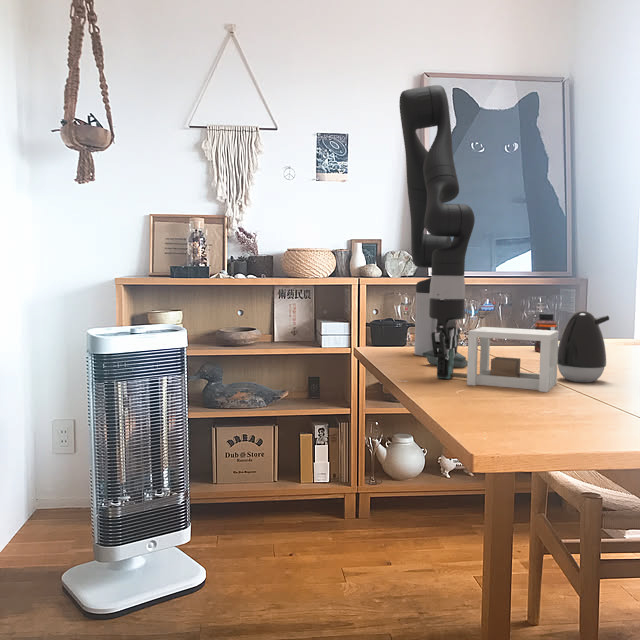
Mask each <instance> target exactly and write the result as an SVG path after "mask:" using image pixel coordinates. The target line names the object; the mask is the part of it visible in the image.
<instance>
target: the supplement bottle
mask: <svg viewBox="0 0 640 640" xmlns="http://www.w3.org/2000/svg"><path fill="white" fill-rule="evenodd" d="M538 318H539V319H538V320H536V321H535V325H534V328H535V329H534V330H553V331H557V328H558V327H557V325H558V324H557V322H556V320H555V319H554V313H552V312H539V315H538ZM540 347H541V341H534V351H535V352H537V351H538V353H540Z"/></svg>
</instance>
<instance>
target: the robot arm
mask: <svg viewBox="0 0 640 640" xmlns="http://www.w3.org/2000/svg"><path fill="white" fill-rule="evenodd" d="M448 99H449V98H448V95H447V92H446V89H445V88H444V86H442V85H439V84H438V85H437V84H435V85H428V86H422V87H421V86H420V87H415V88H409V89H406V90H403V91H402V92H401V93H400V96H399V106H398V107H399V114H400V122H401V129H402V137H403V142H404V143H403V144H404V152H405V162H406V163H405V165H406V166H405V167H406V168H405V169H406V184H407V186H406V187H407V197H408V204H409V205H408V206H409V213H410V215H409V216H410V245H411V246H410V247H411V249H410V251H411V259H412V260H411V261H412V263H413V265H414V267H416V268H423V269H424V268H425V269H426V268H427V269H431V273H430V274H431V276H430V277H429V278H426V279H422V280H420V281H418V282H417V283H416V285H415V321H414V353H413V354H414V355H416V356H422V357H425V356H424V355H423V354H422V353H424V352H427V351H430V350H433V353H434V357H436V359H438V368H437V367H436V376H437V375H438V377H447V376H448V359H449V350H454V356H455V354H456V353H457V352H458V346H459V342H460V341H459V339H460V333H461V329H460V328H458V327H457V322H456V320H462V319H464V318H465V309H466V308H465V307H466V306H465V305H466V302H465V299H466V283H465V267H466V266H465V265H466V264H465V263H466V254H467V249H468V246H469V242H470V239H471V236H472V233H473V230H474V226H475V221H476V219H475V218H476V217H475V213H474V211H473V210H472V208H471V206H469V205H468V204H463V203H449V202H452V201H453V200H455V199H456V198H457V197H458V196H459V193H460V184H459V179H458V175H457V170H456V167H455V162H454V155H453V153H454V152H453V137H452V125H451V115H450V107H449V100H448ZM432 127H433V128H434V127H437V128H436V129H437V131H436V134H435V136H434V140H433V142H432V144H431V146H430V148H429V149H428V150H427V148H425V146H424V145H423V143H422V142H421V140H420V138H419V137H418V134H417V130H419V129H427V128H432ZM425 229H426V232H427V233H425V232H424V231H425ZM452 238H453V239H452ZM441 349H442V352H440V350H441Z"/></svg>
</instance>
